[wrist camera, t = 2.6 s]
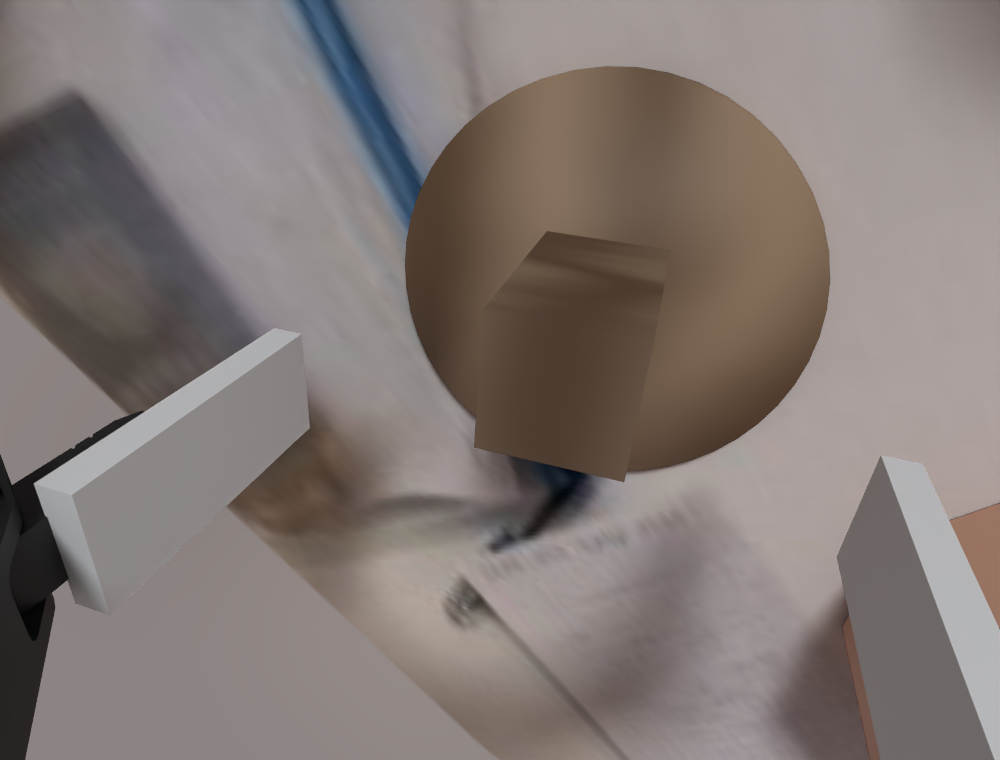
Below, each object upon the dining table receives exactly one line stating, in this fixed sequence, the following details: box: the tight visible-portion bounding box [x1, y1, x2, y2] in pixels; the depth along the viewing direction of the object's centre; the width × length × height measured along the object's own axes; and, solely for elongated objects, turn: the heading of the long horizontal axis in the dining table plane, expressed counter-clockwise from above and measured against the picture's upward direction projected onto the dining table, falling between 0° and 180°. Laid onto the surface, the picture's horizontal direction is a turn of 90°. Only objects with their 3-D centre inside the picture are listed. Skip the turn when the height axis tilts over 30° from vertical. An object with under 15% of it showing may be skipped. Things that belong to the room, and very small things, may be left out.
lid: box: [405, 66, 830, 482], centre depth 19 cm, size 14×14×8 cm
